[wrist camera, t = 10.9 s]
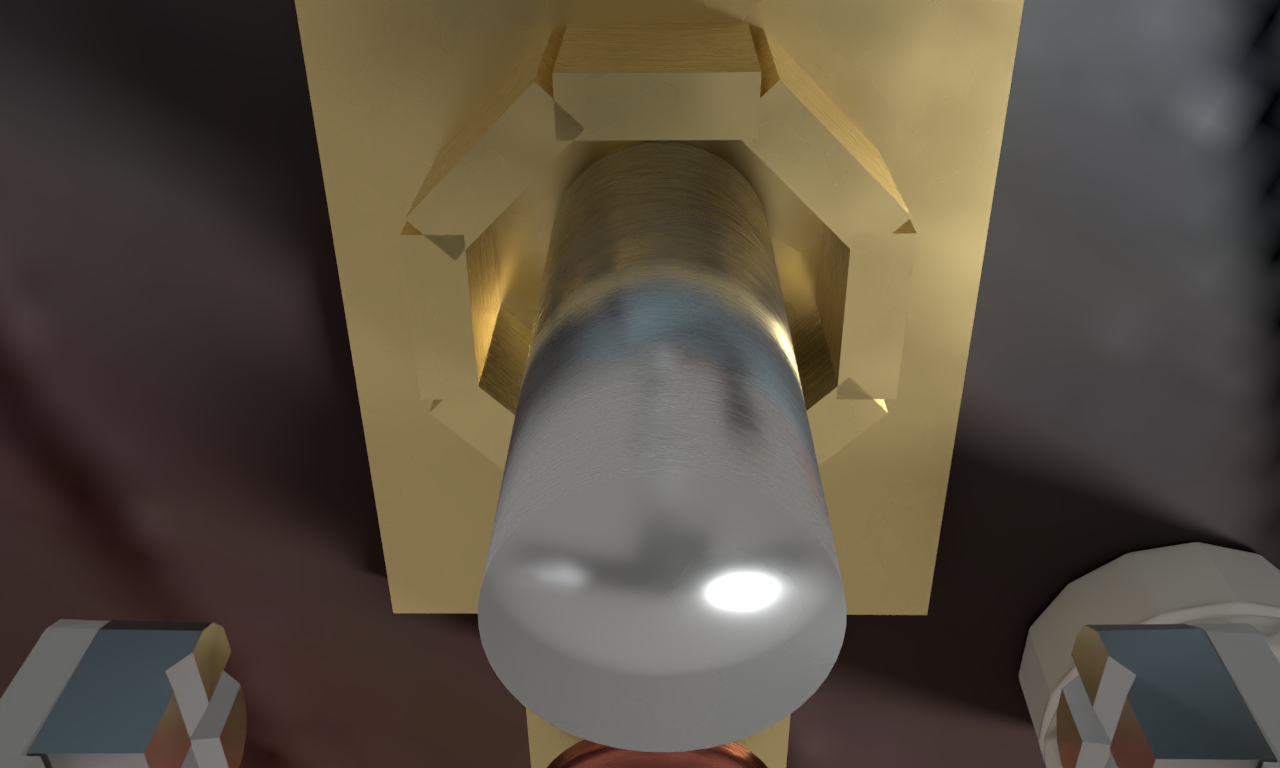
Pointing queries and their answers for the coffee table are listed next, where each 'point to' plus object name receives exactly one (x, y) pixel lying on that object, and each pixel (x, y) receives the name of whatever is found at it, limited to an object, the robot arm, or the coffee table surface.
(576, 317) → the silver metal cylinder
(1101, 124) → the coffee table surface
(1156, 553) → the white cup
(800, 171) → the brass valve fitting
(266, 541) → the coffee table surface
